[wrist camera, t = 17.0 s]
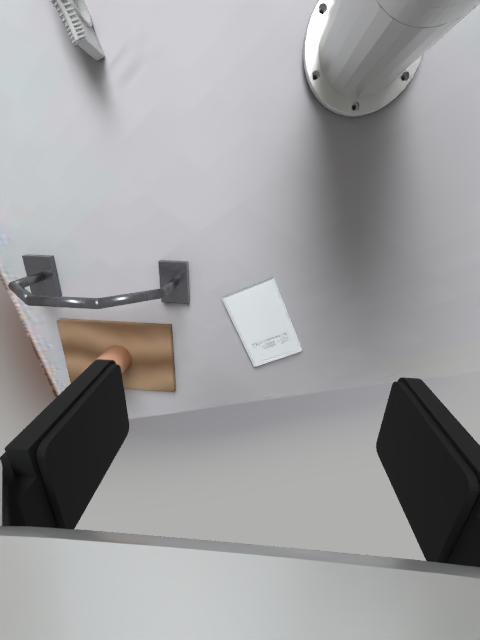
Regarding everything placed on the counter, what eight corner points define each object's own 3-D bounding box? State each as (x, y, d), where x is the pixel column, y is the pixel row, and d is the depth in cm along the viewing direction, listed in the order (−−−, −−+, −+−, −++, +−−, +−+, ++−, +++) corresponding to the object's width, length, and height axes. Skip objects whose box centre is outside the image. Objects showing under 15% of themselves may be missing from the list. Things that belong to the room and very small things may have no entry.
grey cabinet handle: (27, 254, 43) (-50, 272, 33) (188, 261, 42) (163, 282, 31) (36, 293, 46) (-32, 322, 35) (189, 301, 44) (167, 333, 34)
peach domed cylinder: (104, 343, 47) (78, 365, 41) (131, 346, 47) (110, 369, 40) (106, 367, 49) (82, 392, 42) (132, 370, 49) (112, 395, 42)
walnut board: (60, 318, 47) (56, 320, 46) (171, 324, 46) (169, 326, 45) (74, 381, 52) (71, 385, 51) (175, 388, 51) (174, 391, 50)
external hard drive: (273, 275, 43) (301, 346, 47) (222, 296, 44) (253, 362, 48) (273, 278, 41) (302, 351, 45) (221, 299, 43) (253, 368, 47)
